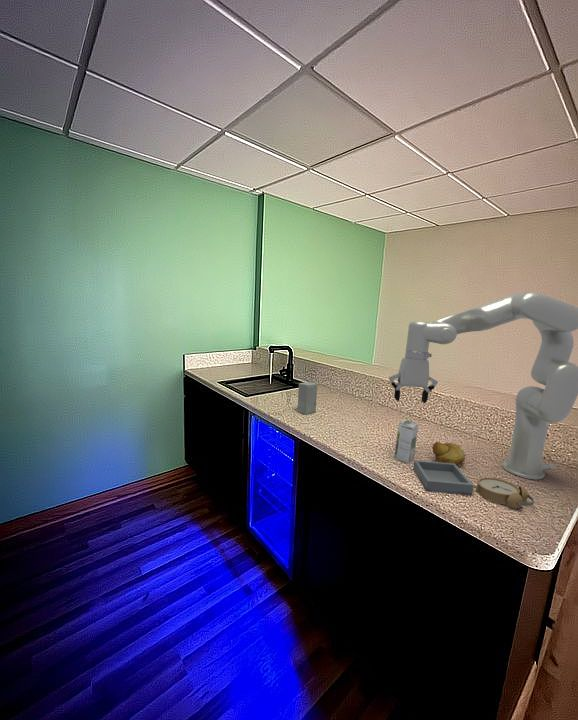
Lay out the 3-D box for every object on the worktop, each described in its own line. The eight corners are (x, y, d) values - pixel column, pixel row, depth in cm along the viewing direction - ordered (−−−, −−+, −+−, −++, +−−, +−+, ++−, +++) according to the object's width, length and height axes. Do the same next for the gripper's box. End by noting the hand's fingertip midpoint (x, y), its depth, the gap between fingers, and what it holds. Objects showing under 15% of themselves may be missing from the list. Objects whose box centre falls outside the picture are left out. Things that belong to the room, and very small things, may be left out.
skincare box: (305, 415, 167) (307, 385, 164) (296, 411, 172) (297, 382, 169) (316, 412, 172) (318, 383, 170) (307, 408, 178) (309, 380, 175)
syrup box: (399, 453, 127) (403, 418, 125) (414, 458, 123) (418, 422, 121) (393, 458, 123) (397, 422, 120) (409, 463, 119) (413, 426, 117)
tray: (453, 472, 114) (454, 463, 114) (472, 495, 100) (473, 485, 100) (413, 469, 115) (414, 460, 115) (426, 491, 101) (427, 481, 101)
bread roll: (447, 454, 130) (450, 435, 128) (471, 464, 121) (474, 444, 120) (428, 460, 123) (430, 441, 121) (452, 472, 115) (455, 451, 113)
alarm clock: (484, 474, 109) (539, 486, 97) (485, 488, 109) (539, 502, 97) (470, 484, 102) (527, 499, 90) (471, 499, 102) (527, 516, 90)
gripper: (436, 356, 120) (430, 400, 122) (389, 352, 121) (384, 396, 124) (444, 359, 112) (437, 406, 115) (394, 355, 113) (388, 402, 116)
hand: (410, 401), depth 119 cm, fingers open, 9 cm apart
